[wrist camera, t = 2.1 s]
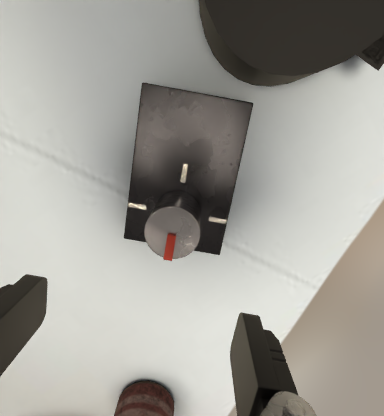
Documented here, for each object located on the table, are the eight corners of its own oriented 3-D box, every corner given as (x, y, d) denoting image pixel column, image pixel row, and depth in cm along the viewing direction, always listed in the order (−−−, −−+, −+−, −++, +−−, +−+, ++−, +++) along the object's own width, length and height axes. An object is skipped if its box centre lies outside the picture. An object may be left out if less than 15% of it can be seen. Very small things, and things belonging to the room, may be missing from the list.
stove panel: (149, 87, 23) (141, 81, 20) (247, 105, 24) (254, 102, 21) (130, 235, 27) (121, 249, 24) (215, 250, 27) (217, 266, 24)
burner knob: (158, 186, 23) (147, 203, 18) (204, 195, 23) (204, 213, 18) (151, 229, 24) (140, 256, 19) (196, 237, 24) (194, 265, 19)
